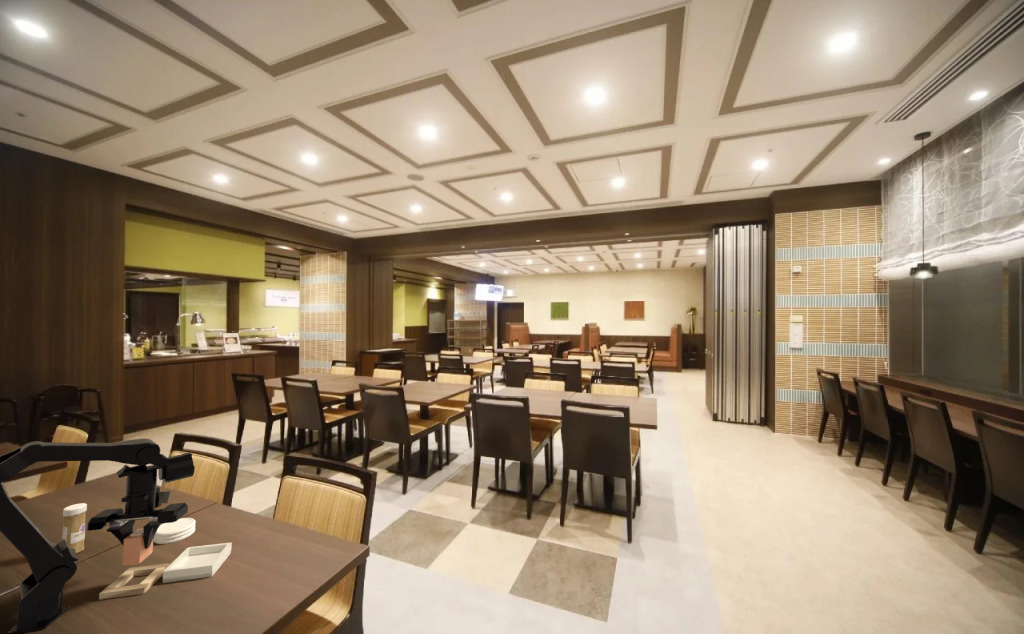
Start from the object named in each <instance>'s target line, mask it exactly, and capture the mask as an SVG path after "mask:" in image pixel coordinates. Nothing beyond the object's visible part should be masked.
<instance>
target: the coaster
mask: <svg viewBox="0 0 1024 634" xmlns="http://www.w3.org/2000/svg"><path fill="white" fill-rule="evenodd" d="M196 526H197V525H196V520H195V519H194V518H192V517H181V518H180V519H179V520H177V521H176V522H173V523H163V524H161V525H160V526H159V528H158V530H157V532H156V534H155V536H154V538H153V543H154V544H158V545H167V544H172V543H175V542H179V541H180V542H181V541H182V540H185V539H186V538H188V537H190V536H191V535H193V534H194V533H195V532H196Z"/></svg>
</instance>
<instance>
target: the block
mask: <svg viewBox="0 0 1024 634" xmlns="http://www.w3.org/2000/svg"><path fill="white" fill-rule="evenodd" d="M122 546H123V545H122ZM122 549H123V550H122V567H123V566H130V565H131V566H132V565H139V564H141V563H142V562H143V561H144V560H145V559H147V558H148V557H149V556H150V555H151V554H152V553H153V551H154V541H153V540H152V542H151V544H150V546H149V547H148V548H147V549H145V546H144V532H143V528H137V529H136V530H134V531H133V533H132V534H130V535H129V536H128V537H126V538H125V539H124V546H123V547H122Z"/></svg>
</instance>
